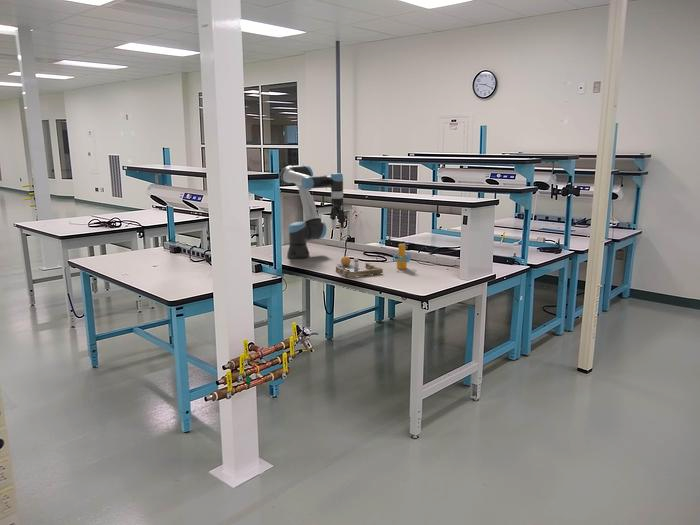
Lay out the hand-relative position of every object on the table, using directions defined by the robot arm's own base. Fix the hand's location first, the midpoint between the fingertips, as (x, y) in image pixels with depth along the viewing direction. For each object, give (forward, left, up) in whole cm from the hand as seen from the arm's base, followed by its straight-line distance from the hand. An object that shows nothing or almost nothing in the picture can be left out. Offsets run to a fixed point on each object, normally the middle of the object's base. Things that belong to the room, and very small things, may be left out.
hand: (337, 231), depth 338 cm
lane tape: (+21, 0, -20) cm, 29 cm away
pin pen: (+31, 0, -20) cm, 37 cm away
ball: (+12, 0, -17) cm, 21 cm away
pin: (+28, 0, -20) cm, 34 cm away
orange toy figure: (+34, +28, -21) cm, 49 cm away
